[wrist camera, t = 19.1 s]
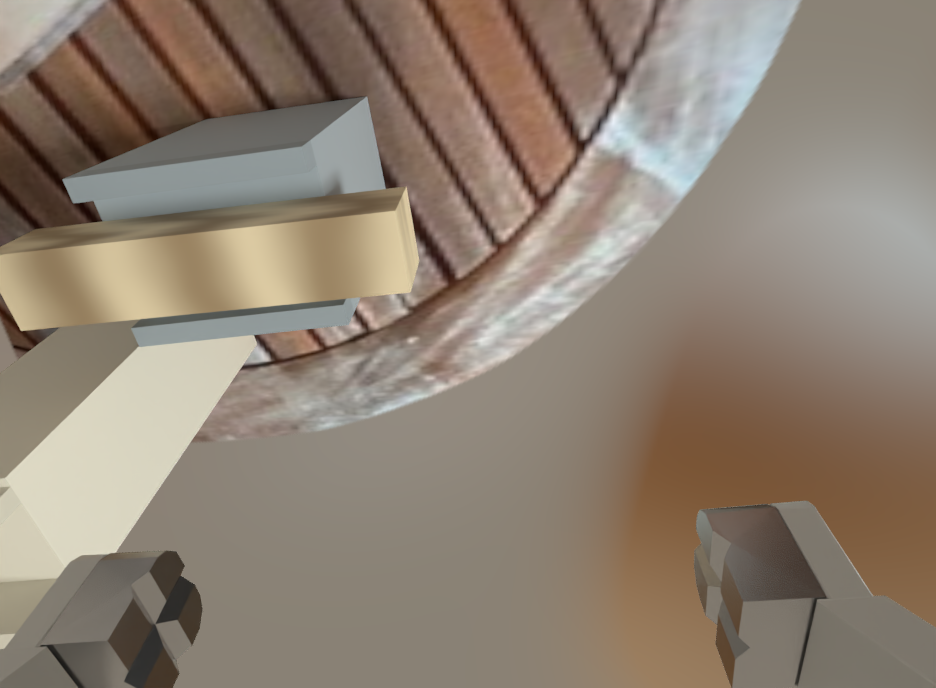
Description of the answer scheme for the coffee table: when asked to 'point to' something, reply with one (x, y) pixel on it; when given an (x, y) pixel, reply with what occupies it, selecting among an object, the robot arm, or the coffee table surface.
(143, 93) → the coffee table surface
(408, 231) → the rail
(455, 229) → the coffee table surface
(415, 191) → the coffee table surface
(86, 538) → the bracket post
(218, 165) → the grey slotted block
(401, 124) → the coffee table surface
